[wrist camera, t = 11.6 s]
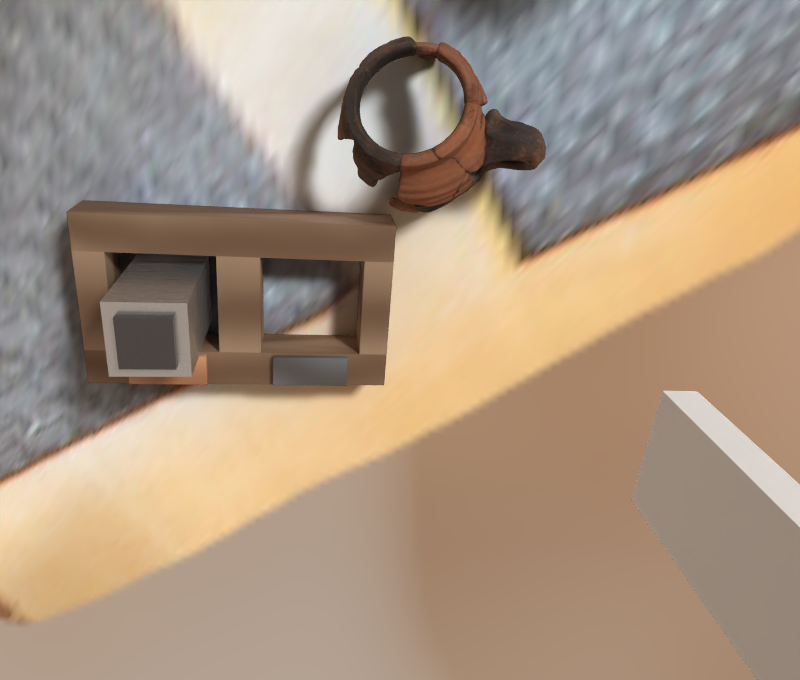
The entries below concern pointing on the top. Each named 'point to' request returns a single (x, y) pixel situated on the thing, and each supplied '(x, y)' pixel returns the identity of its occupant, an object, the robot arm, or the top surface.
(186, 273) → the plug
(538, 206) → the top surface
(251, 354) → the socket board
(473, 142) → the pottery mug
